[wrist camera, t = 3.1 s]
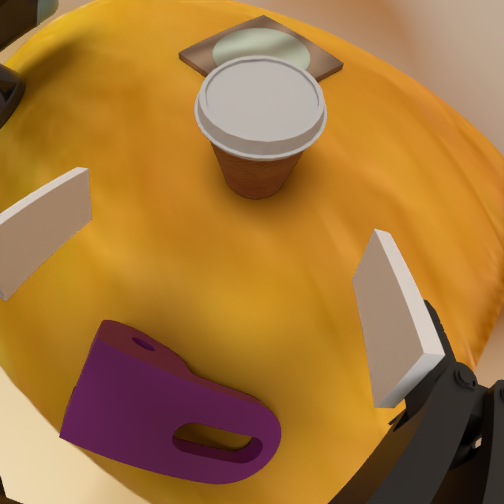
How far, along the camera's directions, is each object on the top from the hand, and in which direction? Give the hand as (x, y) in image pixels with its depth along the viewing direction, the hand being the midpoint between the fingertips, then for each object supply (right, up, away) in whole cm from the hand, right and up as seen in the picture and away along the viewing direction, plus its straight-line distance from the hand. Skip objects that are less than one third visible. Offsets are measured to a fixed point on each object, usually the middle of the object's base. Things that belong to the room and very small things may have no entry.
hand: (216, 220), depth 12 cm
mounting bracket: (-5, -16, +12) cm, 21 cm away
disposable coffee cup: (+2, +7, +17) cm, 19 cm away
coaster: (+3, +25, +21) cm, 33 cm away
